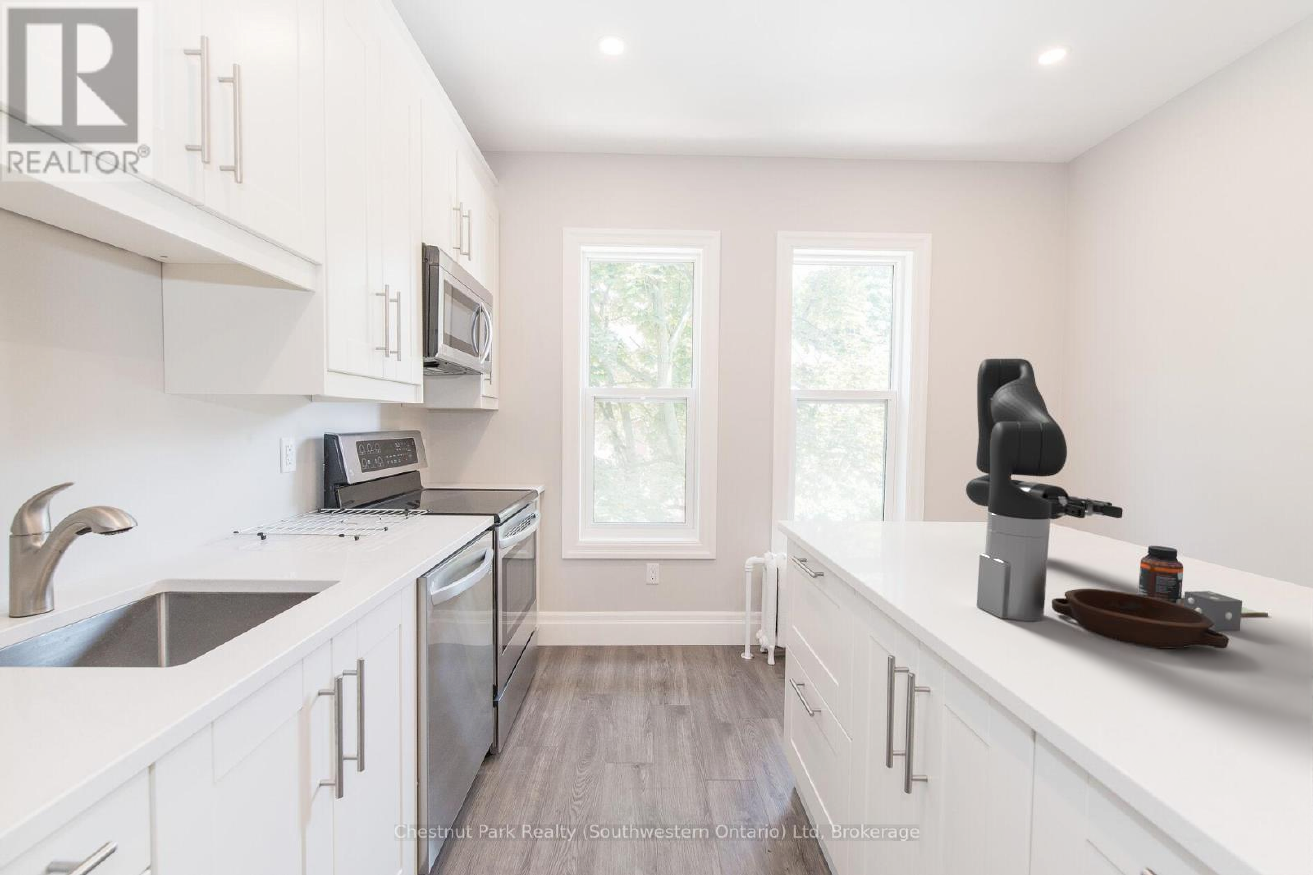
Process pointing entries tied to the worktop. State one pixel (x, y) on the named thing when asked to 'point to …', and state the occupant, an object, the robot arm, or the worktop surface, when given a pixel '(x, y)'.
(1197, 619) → the dish
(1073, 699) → the worktop surface
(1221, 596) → the die
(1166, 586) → the supplement bottle
